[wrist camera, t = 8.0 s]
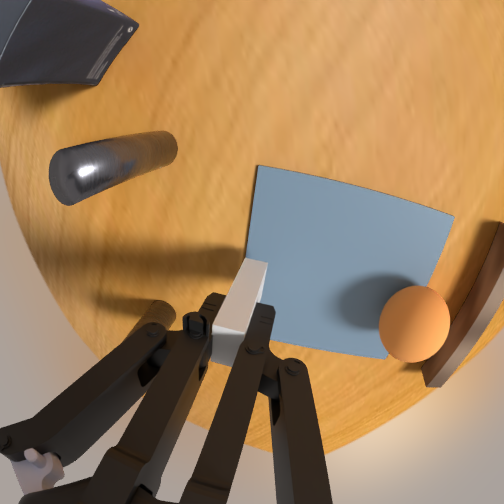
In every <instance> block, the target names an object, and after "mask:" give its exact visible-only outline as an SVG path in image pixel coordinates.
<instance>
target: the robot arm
mask: <svg viewBox="0 0 504 504" xmlns="http://www.w3.org/2000/svg"><path fill="white" fill-rule="evenodd" d="M267 265H268V263H267V262H262V261H258V260H253V259H249V258H245V259H244V261H243V263H242V265H241V267H240V269H239V271H238V273H237V275H236V278H235V280H234V282H233V284H232V286H231V288H230V290H229V292H228V294H227V296H226V295H222V294H218V293H214V292H213V293H212V294H210V295H209V296H207V298H206V299H205V301H204V303H203V304H202V306H201V308H200V310H199V311H198V312H190V313H187V314H185V315H184V316H183V330H180V331H170V330H166V329H165V327H164V326H163V325H162V324H160V323H158V322H150V323H146V324H145V325H143V326H142V327H141V328H139V329H138V330H137V331H136V332H134V333H133V334H132V335H131V336H130V337H128V338H127V339H126V340H125V341H123V342H122V343H121V344H120V345H119V346H117V347H116V348H115V349H114V350H112V351H111V352H110V353H109V354H108V355H106V356H105V357H104V358H103V359H102V360H100V361H99V362H98V363H97V364H96V365H94V366H93V367H92V368H91V369H90V370H88V371H87V372H86V373H85V374H84V375H83V376H81V377H80V378H79V379H78V380H76V381H75V382H74V383H73V384H72V385H70V386H69V387H68V388H67V389H66V390H64V391H63V392H62V393H61V394H60V395H58V396H57V397H56V398H55V399H54V400H53V401H51V402H50V403H49V404H48V405H47V406H45V407H44V408H43V409H42V410H41V411H40V412H38V413H37V414H36V415H35V416H34V417H33V418H30V419H27V420H24V421H21V422H18V423H15V424H12V425H9V426H6V427H3V428H0V453H2V454H3V455H4V456H6V457H7V458H8V459H10V461H11V463H12V466H13V469H14V471H15V474H16V476H17V479H18V481H19V484H20V486H21V489H22V491H23V493H24V496H23V497H22V498H21V500H20V501H19V504H226V503H227V499H228V496H229V493H230V489H231V485H232V482H233V479H234V475H235V472H236V469H237V465H238V462H239V458H240V455H241V451H242V448H243V444H244V441H245V437H246V434H247V430H248V426H249V423H250V419H251V415H252V411H253V407H254V404H255V400H256V396H257V392H260V393H262V394H264V395H266V396H268V399H269V411H270V423H271V436H272V448H273V460H274V473H275V485H276V499H277V504H333V503H332V498H331V490H330V484H329V479H328V473H327V467H326V461H325V456H324V450H323V445H322V440H321V434H320V429H319V424H318V419H317V414H316V409H315V404H314V399H313V394H312V389H311V384H310V379H309V375H308V370H307V367H306V365H305V364H304V363H303V362H302V361H300V360H298V359H295V358H286V359H284V360H282V359H280V358H278V357H276V356H275V355H274V354H273V353H272V352H271V351H270V349H269V341H270V337H271V333H272V328H273V324H274V319H275V315H276V311H275V309H274V306H271V305H267V304H262V303H260V300H261V296H262V291H263V286H264V281H265V275H266V270H267ZM210 357H211V361H212V362H216V363H219V364H223V365H227V366H231V367H232V369H231V372H230V374H229V377H228V380H227V383H226V386H225V388H224V391H223V394H222V397H221V400H220V402H219V405H218V408H217V411H216V413H215V416H214V419H213V421H212V424H211V427H210V430H209V432H208V435H207V438H206V440H205V443H204V446H203V448H202V451H201V454H200V456H199V459H198V462H197V464H196V467H195V469H194V472H193V474H192V477H191V478H190V480H189V481H188V483H187V485H186V487H185V489H184V492H183V494H182V497H181V499H180V502H179V503H173V502H166V501H160V500H157V499H156V498H155V496H156V494H157V492H158V489H159V487H160V483H161V477H162V474H163V471H164V469H165V467H166V464H167V462H168V460H169V457H170V455H171V453H172V451H173V448H174V446H175V444H176V441H177V439H178V437H179V434H180V432H181V430H182V427H183V425H184V423H185V420H186V418H187V416H188V414H189V411H190V409H191V407H192V404H193V402H194V400H195V397H196V395H197V393H198V390H199V388H200V386H201V383H202V381H203V379H204V376H205V374H206V372H207V369H208V362H209V359H210ZM145 393H146V394H145ZM144 394H145V396H144V398H143V400H142V401H141V403H140V405H139V407H138V409H137V410H136V412H135V414H134V416H133V418H132V419H131V421H130V423H129V425H128V426H127V428H126V430H125V432H124V434H123V436H122V437H121V439H120V441H119V442H118V444H117V445H116V446H114V447H111V448H110V449H108V450H107V452H106V453H105V455H104V457H103V459H102V460H101V462H100V464H99V466H98V468H97V469H96V471H95V473H94V475H93V476H92V477H89V478H86V479H83V480H80V481H76V482H73V483H70V484H66V485H62V486H58V487H54V484H55V483H56V482H57V481H58V480H60V479H62V478H63V477H64V471H63V467H65V466H67V465H69V464H71V463H73V462H74V461H76V460H77V459H78V458H79V457H80V456H82V455H83V454H84V453H85V452H86V451H87V450H88V449H89V448H90V447H91V446H92V445H93V444H94V443H95V442H96V441H97V440H98V439H99V438H100V437H101V436H102V435H103V434H104V433H105V432H106V431H107V430H109V428H111V427H112V426H113V425H114V424H115V422H116V421H118V420H119V419H120V418H121V417H122V416H123V415H124V414H125V413H126V412H127V410H129V409H130V408H131V406H133V405H134V404H135V402H137V401H138V400H139V399H140V398H141V397H142V396H143V395H144ZM53 487H54V488H53Z"/></svg>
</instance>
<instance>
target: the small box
mask: <svg viewBox="0 0 504 504" xmlns="http://www.w3.org/2000/svg"><path fill="white" fill-rule="evenodd" d="M138 27H139V24H138V23H137V22H136V21H134V20H132V19H131V18H129V17H128V16H126V15H125V14H123V13H122V12H120V11H118V10H117V9H115V8H113V7H112V6H110V5H108V4H106V3H105V2H103V1H101V0H0V88H1V87H10V86H20V85H21V86H23V85H37V84H81V85H82V84H83V85H94V86H96V85H98V83H99V82H100V81H101V78H102V77H103V75H104V73H105V72H106V70H107V69H108V67H109V66H110V64H111V63H112V61H113V60H114V58H115V57H116V56H117V54H118V53H119V52H120V50H121V49H122V48H123V46H124V45H125V44H126V43H127V41H128V40H129V39H130V37H131V36H132V35H133V33H134V32H135V31H136V29H137V28H138Z"/></svg>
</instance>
